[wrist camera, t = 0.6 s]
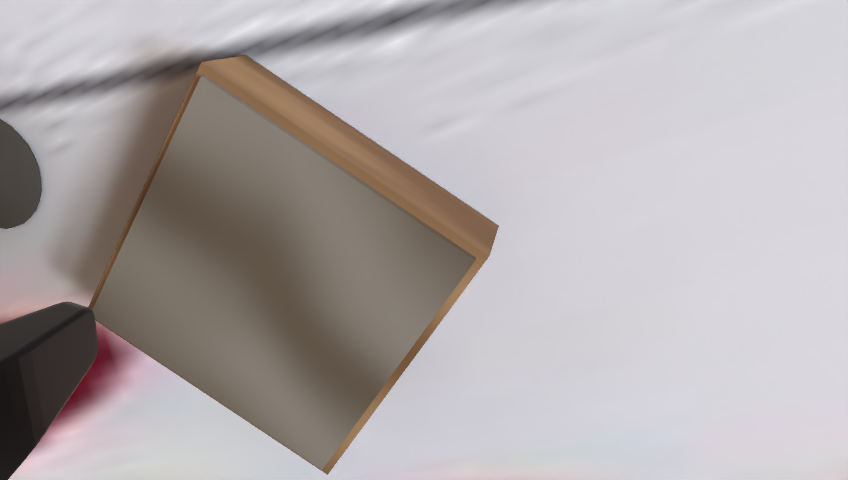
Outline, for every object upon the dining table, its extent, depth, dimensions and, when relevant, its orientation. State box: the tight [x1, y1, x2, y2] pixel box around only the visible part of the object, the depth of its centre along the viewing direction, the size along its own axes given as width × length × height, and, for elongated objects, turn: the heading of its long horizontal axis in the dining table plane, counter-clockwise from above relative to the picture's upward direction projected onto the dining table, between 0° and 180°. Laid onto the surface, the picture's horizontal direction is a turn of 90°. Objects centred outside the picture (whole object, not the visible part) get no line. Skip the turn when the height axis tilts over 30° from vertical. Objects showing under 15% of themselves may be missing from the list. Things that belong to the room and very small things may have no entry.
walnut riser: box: [88, 55, 499, 475], centre depth 25 cm, size 11×11×4 cm
